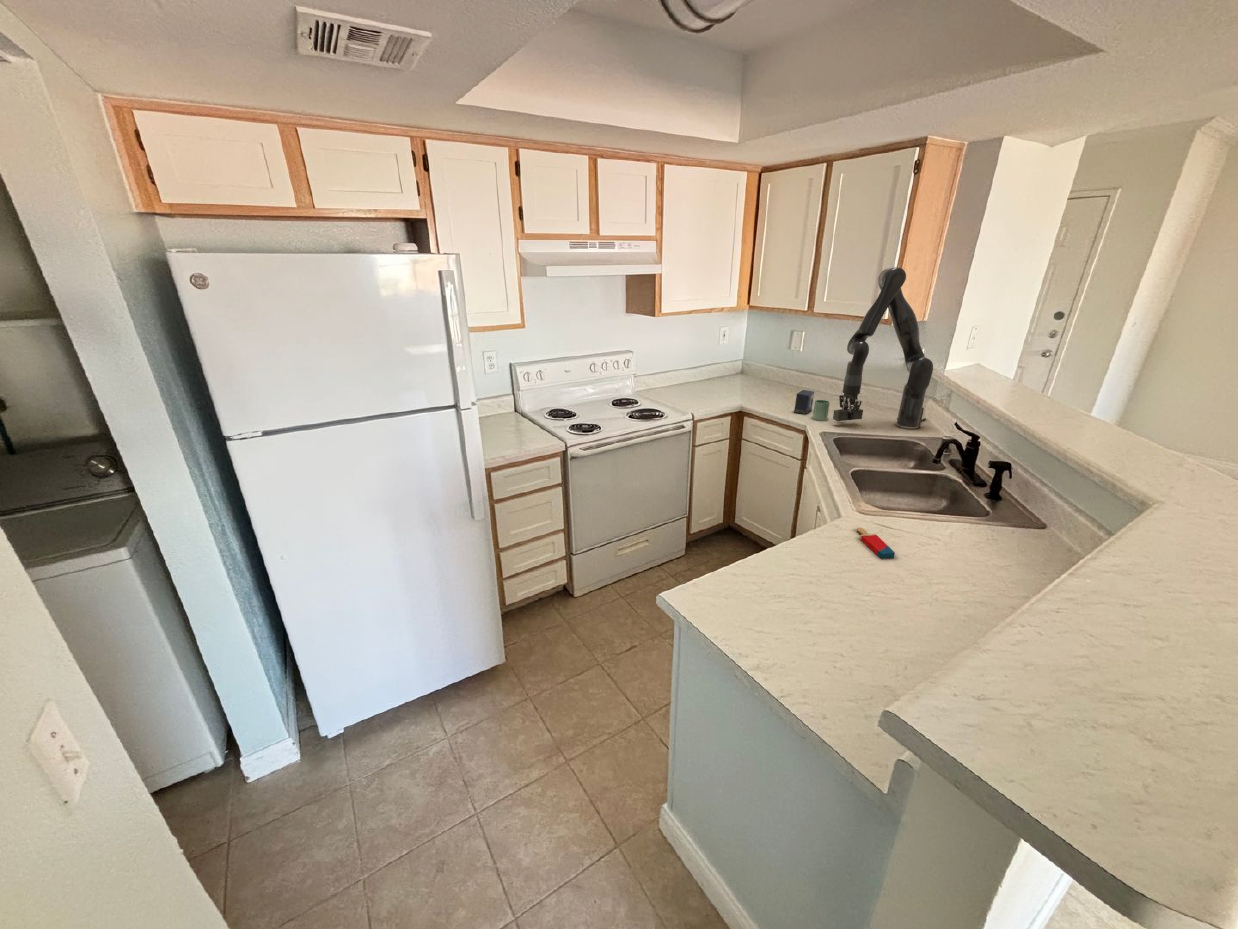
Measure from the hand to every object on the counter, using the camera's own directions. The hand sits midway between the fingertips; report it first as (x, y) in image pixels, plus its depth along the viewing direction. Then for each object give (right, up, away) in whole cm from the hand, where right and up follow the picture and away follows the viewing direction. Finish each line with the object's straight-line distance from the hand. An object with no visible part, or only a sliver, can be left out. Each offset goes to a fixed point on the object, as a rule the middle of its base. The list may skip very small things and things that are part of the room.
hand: (847, 418), depth 242 cm
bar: (0, 0, 0) cm, 0 cm away
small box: (-13, +6, +24) cm, 28 cm away
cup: (-9, +1, +11) cm, 14 cm away
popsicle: (-39, -45, -101) cm, 117 cm away
